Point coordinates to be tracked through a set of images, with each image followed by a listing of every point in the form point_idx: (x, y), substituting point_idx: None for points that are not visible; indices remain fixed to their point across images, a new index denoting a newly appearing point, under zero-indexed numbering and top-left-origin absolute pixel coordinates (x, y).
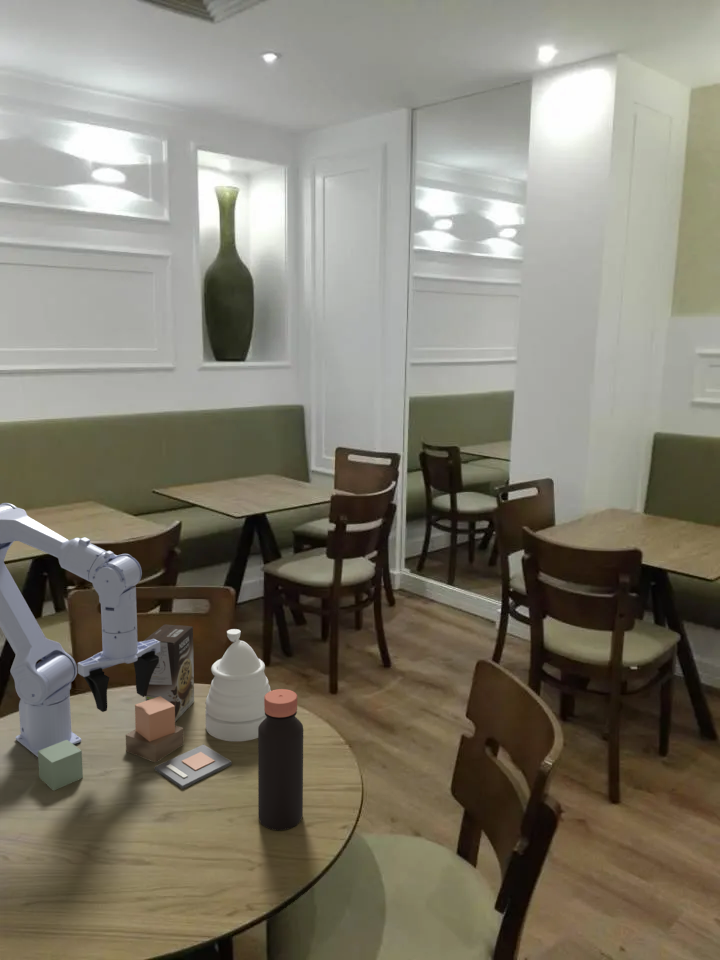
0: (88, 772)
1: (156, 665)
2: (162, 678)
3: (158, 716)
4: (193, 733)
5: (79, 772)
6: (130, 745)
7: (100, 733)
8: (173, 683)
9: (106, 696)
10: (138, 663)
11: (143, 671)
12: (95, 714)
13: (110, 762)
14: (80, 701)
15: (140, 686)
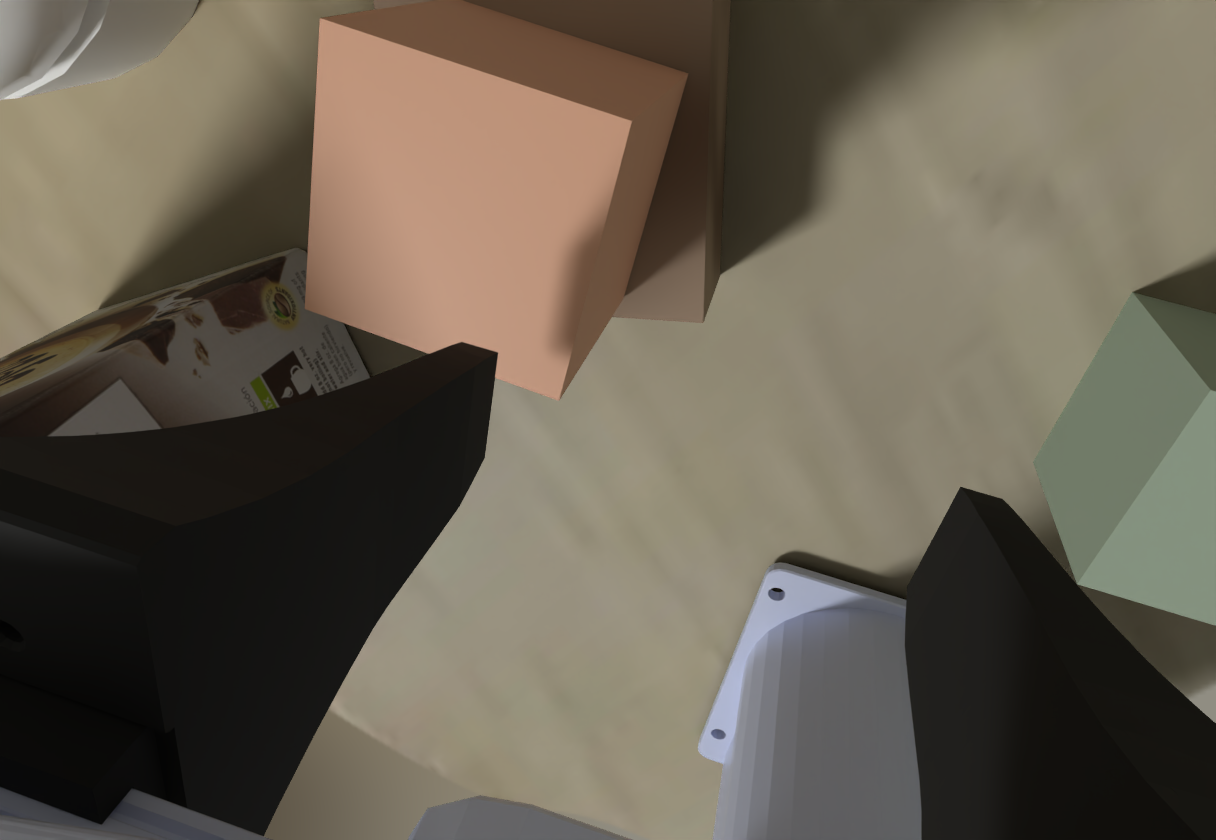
0: (1053, 307)
1: (76, 436)
2: None
3: (537, 76)
4: (299, 28)
5: (1175, 318)
6: (714, 252)
7: (649, 529)
8: (101, 373)
9: (1037, 600)
10: (270, 711)
11: (322, 540)
12: (529, 653)
13: (882, 267)
14: (492, 762)
15: (445, 457)
